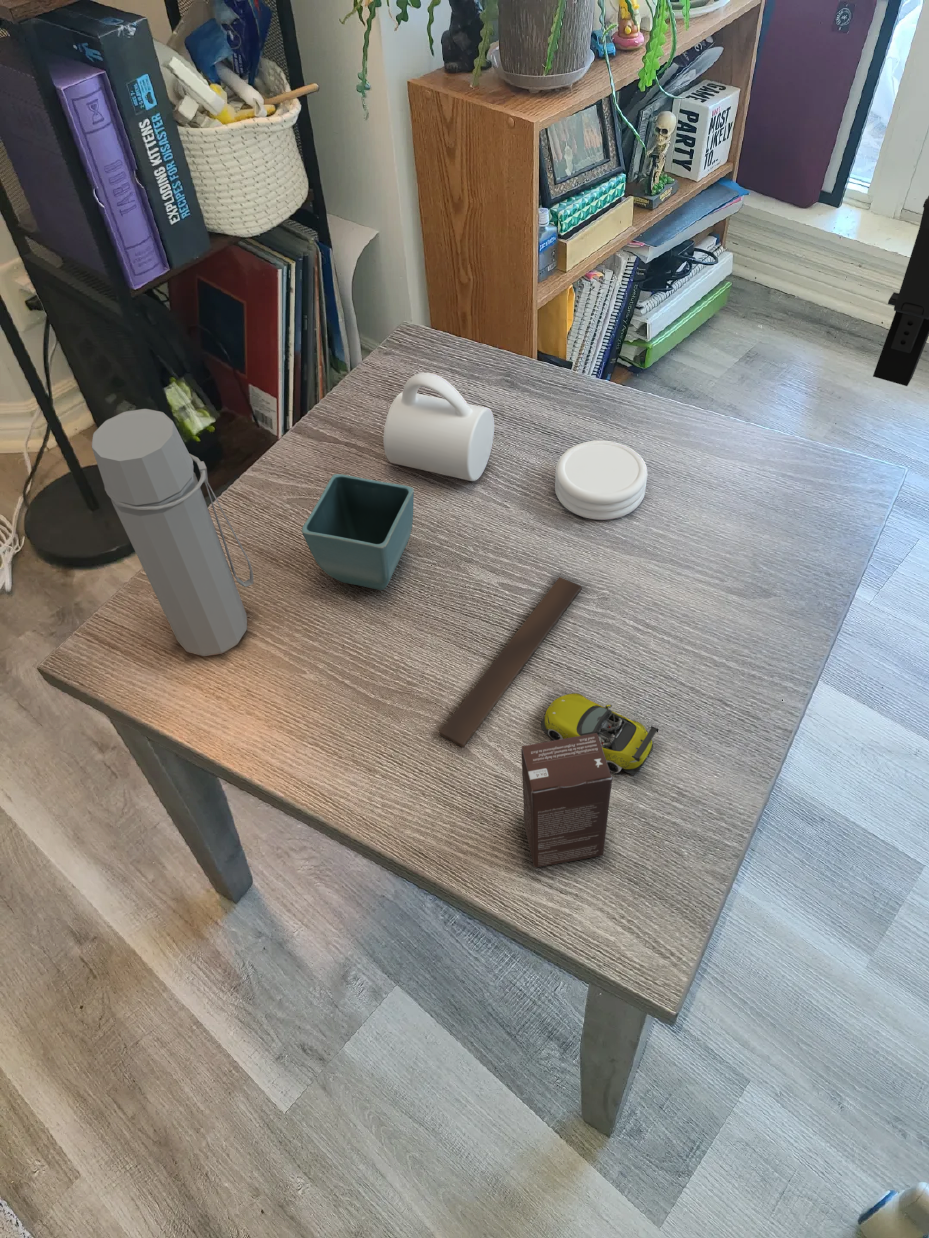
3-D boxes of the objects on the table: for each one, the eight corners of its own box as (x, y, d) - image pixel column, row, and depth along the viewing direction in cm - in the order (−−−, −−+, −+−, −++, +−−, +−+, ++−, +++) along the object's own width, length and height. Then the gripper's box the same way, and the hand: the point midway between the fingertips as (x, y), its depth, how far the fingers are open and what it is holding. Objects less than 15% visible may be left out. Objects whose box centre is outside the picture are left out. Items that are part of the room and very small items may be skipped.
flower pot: (395, 609, 91) (384, 547, 84) (315, 593, 93) (298, 531, 86) (422, 549, 96) (415, 486, 89) (346, 534, 98) (333, 472, 91)
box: (590, 807, 76) (599, 729, 66) (604, 857, 73) (615, 782, 63) (520, 819, 75) (519, 743, 66) (531, 869, 72) (532, 797, 63)
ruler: (581, 589, 91) (581, 586, 91) (463, 747, 80) (463, 744, 80) (559, 579, 92) (559, 576, 92) (439, 735, 81) (439, 732, 80)
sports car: (561, 692, 83) (563, 672, 81) (659, 741, 79) (663, 722, 77) (533, 731, 81) (533, 712, 78) (633, 784, 77) (636, 766, 74)
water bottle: (188, 673, 87) (94, 477, 68) (169, 618, 91) (76, 420, 72) (278, 639, 89) (212, 440, 70) (256, 587, 94) (187, 387, 74)
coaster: (536, 496, 100) (537, 472, 98) (589, 450, 105) (590, 426, 102) (611, 535, 96) (613, 511, 93) (662, 485, 101) (665, 461, 98)
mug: (470, 496, 101) (464, 409, 92) (387, 477, 104) (374, 391, 95) (495, 451, 106) (493, 364, 97) (416, 434, 109) (406, 347, 99)
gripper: (978, 1, 58) (870, 324, 76) (922, 70, 52) (818, 406, 70) (1106, 17, 56) (962, 348, 74) (1064, 92, 49) (917, 436, 67)
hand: (892, 376), depth 72 cm, fingers closed
